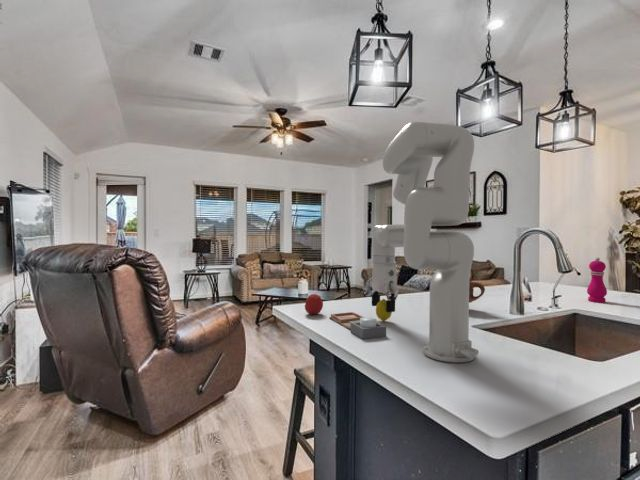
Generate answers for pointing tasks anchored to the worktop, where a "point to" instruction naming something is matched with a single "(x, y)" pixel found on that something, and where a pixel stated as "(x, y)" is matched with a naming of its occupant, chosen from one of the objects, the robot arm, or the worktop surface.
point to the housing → (368, 331)
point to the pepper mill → (597, 282)
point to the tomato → (313, 304)
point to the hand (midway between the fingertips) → (382, 308)
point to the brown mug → (471, 286)
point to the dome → (367, 322)
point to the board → (346, 319)
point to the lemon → (382, 310)
